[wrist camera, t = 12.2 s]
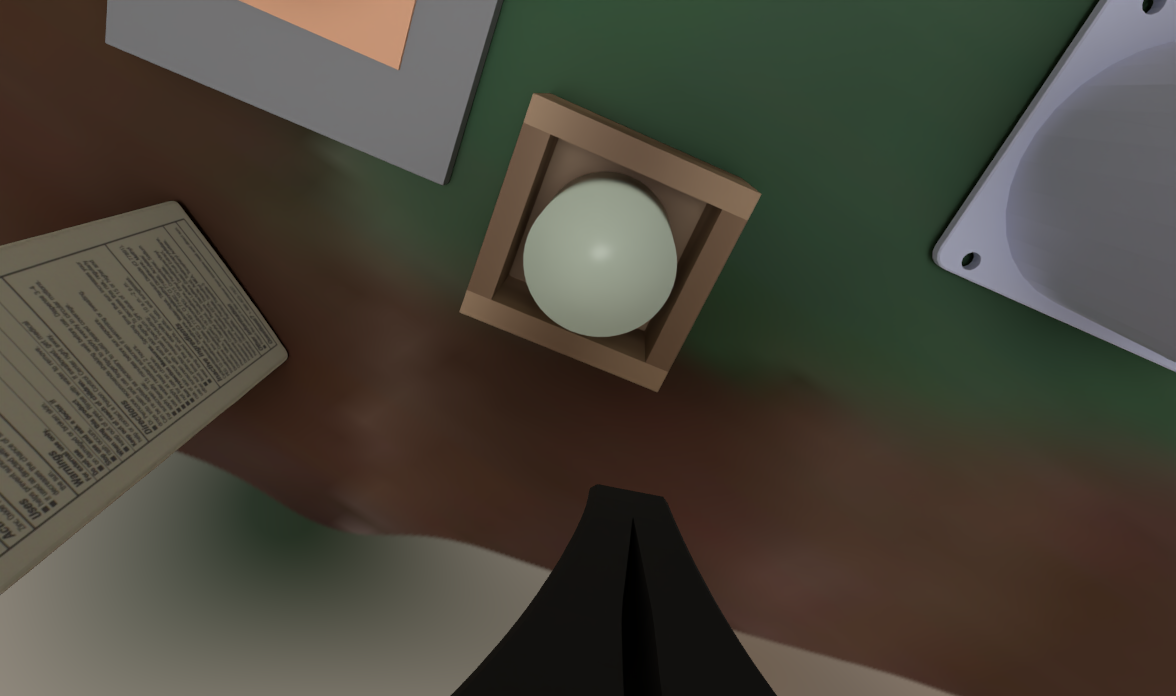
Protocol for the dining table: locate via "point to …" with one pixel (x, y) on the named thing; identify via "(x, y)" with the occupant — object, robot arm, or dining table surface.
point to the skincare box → (111, 366)
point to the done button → (601, 255)
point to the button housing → (596, 144)
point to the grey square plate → (330, 64)
